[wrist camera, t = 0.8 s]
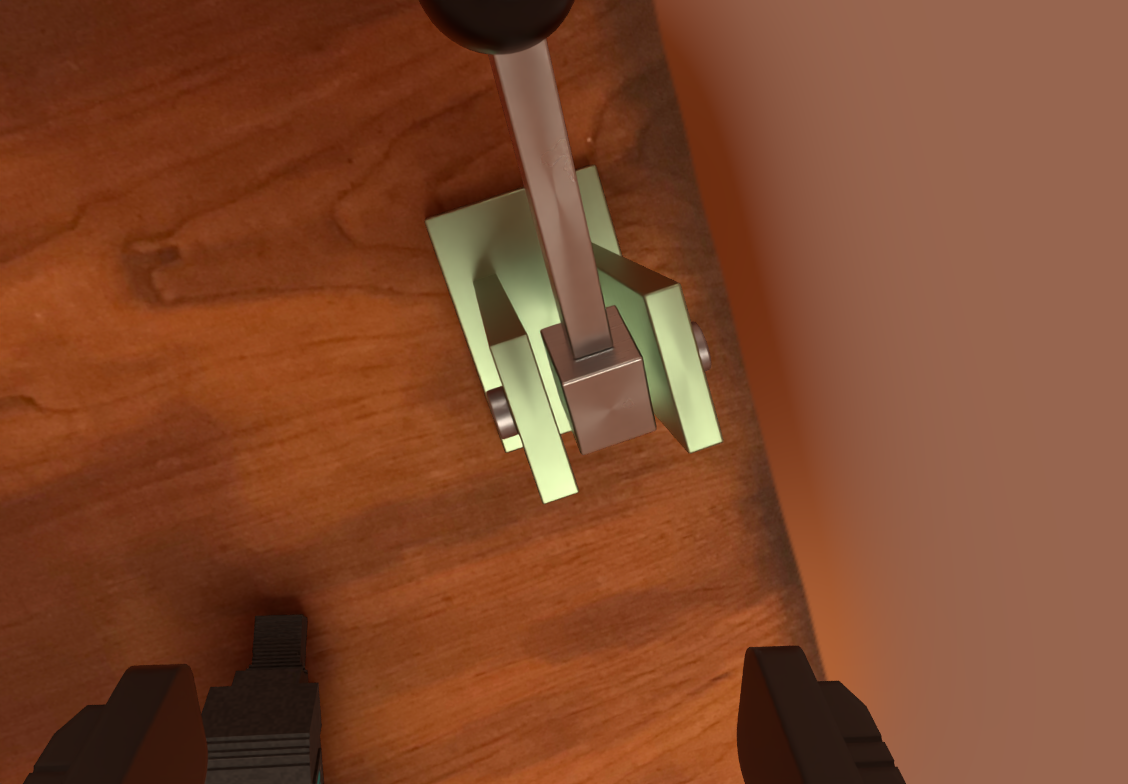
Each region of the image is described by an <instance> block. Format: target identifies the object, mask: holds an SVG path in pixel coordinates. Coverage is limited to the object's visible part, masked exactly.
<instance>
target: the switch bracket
mask: <svg viewBox="0 0 1128 784" xmlns="http://www.w3.org/2000/svg"><path fill="white" fill-rule="evenodd" d="M575 171H576V176H577V180H578V185H579V189H580V194H581V198H582V203H583V207H584V212H585V217H586V221H587V226H588V230H589V235H590V239H591V244H592V248H593V253H594V257H595V262H596V266H597V271H598V275H599V280H600V284H601V289H602V294H603V298H604V303H605V307H609V306H612V305H615V306H616V307H617V308H618V310H619V312H620V314H621V316H622V318H623V320H624V322H625V324H626V326H627V328H628V330H629V331H630V333H631V335H632V337H633V339H634V341H635V343H636V345H637V347H638V349H639V351H640V353H641V354H642V356H643V360H644V365H645V370H646V375H647V381H648V386H649V391H650V396H651V401H652V407H653V412H654V414H655V415H656V416H657V418H658V419H659V420H660V421H661V422H662V423H663V424H664V426H665V427H666V428H667V429H668V430H669V431H670V432H671V434H672V435H673V436H674V437H675V438H676V439H677V440H678V442H679V443H680V444H681V445H682V446H683V447H684V448H685V450H686V451H687V452H688V453H694V452H696V451H699V450H702V449H705V448H708V447H711V446H714V445H717V444H720V443H722V442H723V436H722V433H721V429H720V425H719V422H718V418H717V414H716V411H715V407H714V404H713V400H712V396H711V393H710V389H709V385H708V382H707V378H706V374H705V371H707V370H709V369H710V368H711V357H710V352H709V349H708V345H707V342H706V340H705V337H704V335H703V333H702V331H701V329H700V327H699V326H698V324H697V323H696V322H691V320H690V316H689V313H688V309H687V305H686V302H685V298H684V295H683V291H682V287H681V284H680V283H678V282H676V281H674V280H672V279H669V278H667V277H665V276H663V275H661V274H659V273H657V272H654V271H652V270H650V269H648V268H646V267H644V266H642V265H639V264H637V263H635V262H633V261H631V260H629V259H627V258H624V257H622V253H621V250H620V246H619V243H618V240H617V236H616V233H615V229H614V226H613V222H612V219H611V215H610V212H609V209H608V205H607V202H606V198H605V195H604V191H603V188H602V185H601V181H600V178H599V174H598V171H597V167H596V166H595V165H588V166H585V167H582V168H579V169H576V170H575ZM425 225H426V228H427V231H428V234H429V237H430V239H431V242H432V245H433V248H434V251H435V254H436V257H437V259H438V262H439V265H440V268H441V271H442V274H443V277H444V279H445V282H446V285H447V288H448V291H449V294H450V297H451V299H452V302H453V305H454V308H455V311H456V314H457V317H458V319H459V322H460V325H461V328H462V331H463V334H464V337H465V339H466V342H467V345H468V348H469V351H470V354H471V357H472V359H473V362H474V365H475V368H476V371H477V374H478V377H479V379H480V382H481V385H482V388H483V391H484V394H485V397H486V399H487V402H488V405H489V408H490V411H491V414H492V417H493V419H494V422H495V425H496V428H497V431H498V434H499V437H500V439H501V442H502V445H503V448H504V451H505V452H506V453H509V452H511V451H514V450H517V449H520V448H524V451H525V454H526V457H527V460H528V463H529V465H530V468H531V471H532V474H533V477H534V480H535V483H536V486H537V489H538V492H539V495H540V497H541V500H542V503H543V504H547V503H549V502H552V501H555V500H558V499H561V498H564V497H567V496H570V495H573V494H576V493H578V492H579V489H578V486H577V483H576V480H575V477H574V474H573V471H572V468H571V465H570V462H569V459H568V455H567V452H566V449H565V446H564V443H563V440H562V437H561V434H564V433H567V432H570V431H572V430H571V427H570V425H569V422H568V420H567V417H566V414H565V412H564V409H563V407H562V404H561V401H560V398H559V395H558V392H557V388H556V385H555V382H554V378H553V375H552V371H551V368H550V365H549V361H548V358H547V354H546V351H545V348H544V344H543V341H542V337H541V334H540V330H541V329H543V328H546V327H549V326H552V325H555V324H558V323H561V322H560V318H559V314H558V311H557V307H556V303H555V300H554V296H553V292H552V289H551V285H550V281H549V277H548V274H547V270H546V266H545V263H544V259H543V255H542V252H541V248H540V244H539V241H538V237H537V233H536V229H535V226H534V222H533V218H532V215H531V211H530V207H529V204H528V200H527V196H526V192H525V189H524V186H523V187H520V188H517V189H514V190H511V191H508V192H505V193H502V194H499V195H496V196H493V197H490V198H487V199H483V200H480V201H477V202H474V203H471V204H468V205H465V206H462V207H459V208H456V209H453V210H450V211H447V212H444V213H441V214H437V215H434V216H431V217H428V218H426V219H425Z"/></svg>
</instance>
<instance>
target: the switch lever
mask: <svg viewBox="0 0 1128 784" xmlns="http://www.w3.org/2000/svg"><path fill="white" fill-rule="evenodd" d="M419 2H420V4H421V6H422V8H423V9H424V11H425V13H426V14H427V15H428V17H429V18H430V20H431V21H432V23H433V24H434V25H435V26H436V27H437V28H438V29H439V30H440V31H441V32H442V33H443V34H445V35H446V36H447V37H448V38H450V39H451V40H453V41H454V42H456V43H457V44H459V45H460V46H463V47H465V48H467V49H469V50H472V51H475V52H479V53H484V54H488V56H489V60H490V63H491V67H492V71H493V74H494V78H495V82H496V85H497V89H498V93H499V96H500V100H501V104H502V108H503V111H504V115H505V119H506V122H507V126H508V130H509V133H510V137H511V141H512V144H513V148H514V152H515V156H516V159H517V163H518V167H519V170H520V174H521V178H522V181H523V185H524V189H525V192H526V196H527V200H528V204H529V207H530V211H531V215H532V218H533V222H534V226H535V229H536V233H537V237H538V241H539V244H540V248H541V252H542V255H543V259H544V263H545V266H546V270H547V274H548V277H549V281H550V285H551V289H552V292H553V296H554V300H555V303H556V307H557V311H558V314H559V318H560V322H561V323H558V324H555V325H552V326H549V327H546V328H543V329H541V330H540V334H541V337H542V341H543V344H544V348H545V351H546V354H547V358H548V361H549V365H550V368H551V371H552V375H553V378H554V382H555V385H556V388H557V392H558V395H559V398H560V401H561V404H562V407H563V409H564V412H565V414H566V417H567V420H568V422H569V425H570V427H571V430H572V432H573V435H574V438H575V440H576V443H577V445H578V448H579V450H580V453H581V454H582V455H586V454H589V453H592V452H595V451H598V450H600V449H603V448H606V447H609V446H612V445H615V444H618V443H621V442H624V441H627V440H630V439H633V438H635V437H638V436H641V435H644V434H647V433H650V432H653V431H655V430H656V422H655V417H654V412H653V407H652V401H651V396H650V391H649V386H648V381H647V375H646V370H645V365H644V360H643V356H642V354H641V353H640V351H639V349H638V347H637V345H636V343H635V341H634V339H633V337H632V335H631V333H630V331H629V330H628V328H627V326H626V324H625V322H624V320H623V318H622V316H621V314H620V312H619V310H618V308H617V307H616V306H615V305H612V306H609V307H605V303H604V298H603V294H602V289H601V284H600V280H599V275H598V271H597V266H596V262H595V257H594V253H593V248H592V244H591V239H590V235H589V230H588V226H587V221H586V217H585V212H584V207H583V203H582V198H581V194H580V189H579V185H578V180H577V176H576V171H575V167H574V162H573V158H572V153H571V149H570V144H569V140H568V135H567V131H566V126H565V121H564V117H563V112H562V108H561V103H560V99H559V94H558V90H557V85H556V81H555V76H554V72H553V67H552V63H551V58H550V54H549V49H548V44H547V40H546V38H547V37H549V36H550V35H551V34H552V33H553V32H554V31H555V30H556V29H557V28H558V27H559V26H560V24H561V23H562V22H563V21H564V19H565V18H566V16H567V14H568V13H569V11H570V9H571V7H572V5H573V3H574V0H419Z"/></svg>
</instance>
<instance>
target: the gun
mask: <svg viewBox="0 0 1128 784" xmlns="http://www.w3.org/2000/svg"><path fill="white" fill-rule="evenodd" d="M306 637H307V617H305V616H304V615H303V614H300V615H268V616H255V628H254V642H253V657H252V665H249V668H248V669H246V671H236V673H235V676H234V680H233V683H232V686H224V687H210V690H209V693H208V696H207V699H206V702H205V705H204V708H203V711H202V714H201V716H202V721H203V726H204V731H205V736H206V741H207V748H208V765H207V773H206V779H205V784H324V778H323V765H322V752H321V743H320V732H321V726H322V724H321V710H320V697H319V684H318V683H308V671H307V670H305V658H306V656H305V655H306V640H307V639H306Z"/></svg>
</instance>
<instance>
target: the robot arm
mask: <svg viewBox="0 0 1128 784" xmlns="http://www.w3.org/2000/svg"><path fill="white" fill-rule="evenodd" d="M737 748H738V756H739V762H740V767H741V771H742V775H743V778H744V782H745V784H906V783H905V781H904V779H903V777H902V775H901V773H900V771H899V769H898V767H895V765H894V759H893V757H892V756H891V753H890V751H889V750H888V748H887V746H886V744H885V742H882V738H881V734H880V732H879V730H878V728H877V726H876V724H875V722H874V720H873V718H872V716H871V714H870V712H869V711H868V709H867V707H866V706H865V705H864V704H863V703H862V702H861V701H860V700H859V699H858V698H857V697H856V696H855V695H854V694H853V693H851V692H850V691H849V690H848V689H847V688H846V687H845V686H844V685H843V684H842V683H841V682H840V681H818V682H817V680H816V678H815V676H814V673H813V671H812V669H811V667H810V665H809V662H808V660H807V658H806V656H805V654H804V652H803V650H802V649H801V648H800V647H799V646H772V647H749V648H748V649H747V650H746V653H745V658H744V667H743V676H742V685H741V694H740V703H739V713H738V722H737ZM207 765H208V748H207V741H206V736H205V731H204V726H203V721H202V716H201V711H200V706H199V702H198V697H197V692H196V687H195V682H194V677H193V673H192V670H191V668H190V667H189V666H188V665H187V664H170V665H140V666H131V667H130V668H128V669H127V670H126V671H125V673H124V674H123V676H122V678H121V679H120V681H119V683H118V685H117V686H116V688H115V690H114V691H113V693H112V695H111V697H110V698H109V700H108V702H107V703H106V705H87V706H86V707H85V708H84V709H82V710H81V711H80V712H79V713H78V714H77V715H76V716H74V717H73V718H72V719H71V720H70V721H69V722H67V723H66V724H65V725H64V726H63V727H62V728H60V729H59V730H58V731H57V732H56V733H55V734H54V735H53V737H52V738H51V740H50V741H49V743H48V745H47V746H46V748H45V749H44V751H43V753H42V754H41V756H40V757H39V759H38V760H37V762H36V764H35V765H34V771H33V773H29V775H28V776H27V778H26V780H25V781H24V783H23V784H205V779H206V773H207Z"/></svg>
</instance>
